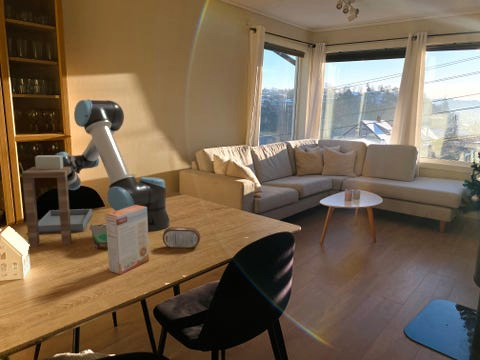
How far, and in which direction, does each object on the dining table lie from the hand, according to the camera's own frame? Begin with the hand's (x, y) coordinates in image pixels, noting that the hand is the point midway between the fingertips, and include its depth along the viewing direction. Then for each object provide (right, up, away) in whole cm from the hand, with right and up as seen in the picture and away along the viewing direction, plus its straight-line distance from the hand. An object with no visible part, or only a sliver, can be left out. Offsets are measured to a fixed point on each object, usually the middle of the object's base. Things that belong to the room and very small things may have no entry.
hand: (55, 158), depth 154 cm
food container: (+27, -37, -11) cm, 47 cm away
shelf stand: (+2, -34, -4) cm, 35 cm away
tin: (+56, -37, -8) cm, 67 cm away
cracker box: (+40, -40, -26) cm, 62 cm away
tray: (-3, -30, +16) cm, 34 cm away
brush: (+1, -4, -4) cm, 5 cm away
